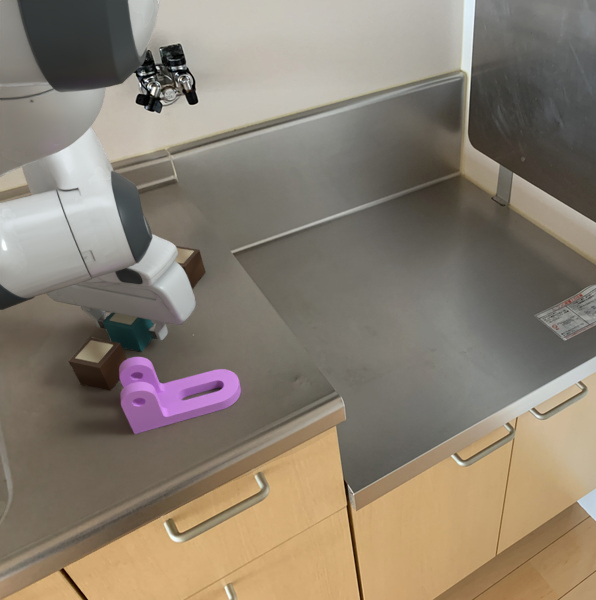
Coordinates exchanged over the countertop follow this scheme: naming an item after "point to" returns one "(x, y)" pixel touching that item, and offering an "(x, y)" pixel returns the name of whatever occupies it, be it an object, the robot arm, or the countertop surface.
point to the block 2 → (191, 263)
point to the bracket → (171, 395)
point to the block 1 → (98, 363)
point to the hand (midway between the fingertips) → (133, 330)
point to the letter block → (129, 331)
